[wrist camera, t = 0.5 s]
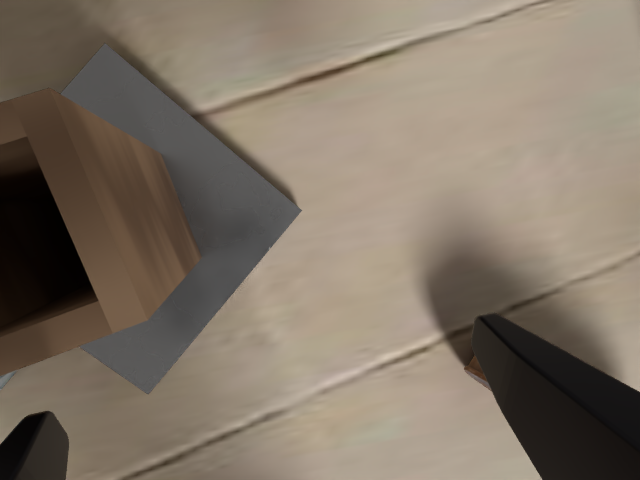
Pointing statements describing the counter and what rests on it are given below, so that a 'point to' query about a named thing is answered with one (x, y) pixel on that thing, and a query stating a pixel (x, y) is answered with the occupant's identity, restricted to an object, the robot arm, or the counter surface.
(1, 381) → the slate tray
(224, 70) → the counter surface
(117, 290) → the walnut collar
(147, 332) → the plate
